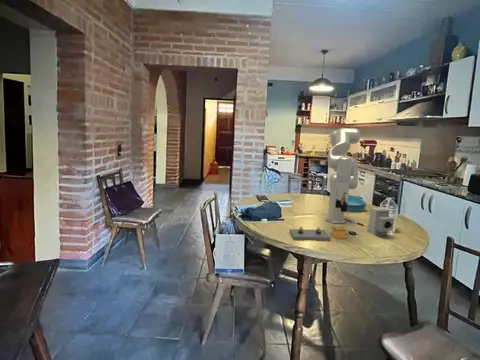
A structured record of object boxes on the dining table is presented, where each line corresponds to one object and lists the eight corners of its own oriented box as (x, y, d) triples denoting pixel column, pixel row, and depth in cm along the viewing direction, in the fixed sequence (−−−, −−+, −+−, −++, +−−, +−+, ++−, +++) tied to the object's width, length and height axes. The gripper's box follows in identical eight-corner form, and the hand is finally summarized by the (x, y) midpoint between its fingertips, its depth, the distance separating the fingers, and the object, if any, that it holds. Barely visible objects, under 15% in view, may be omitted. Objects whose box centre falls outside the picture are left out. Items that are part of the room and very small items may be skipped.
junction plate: (289, 232, 203) (290, 223, 202) (323, 233, 203) (324, 224, 202) (293, 240, 189) (294, 230, 188) (330, 241, 189) (331, 231, 189)
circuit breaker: (382, 239, 195) (385, 213, 193) (367, 231, 209) (369, 207, 207) (393, 238, 197) (396, 212, 195) (377, 231, 211) (380, 206, 209)
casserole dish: (369, 214, 253) (370, 204, 252) (338, 212, 254) (339, 203, 253) (356, 203, 289) (356, 194, 288) (328, 201, 290) (329, 193, 289)
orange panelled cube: (331, 234, 200) (332, 226, 200) (342, 235, 201) (342, 226, 200) (334, 238, 194) (335, 229, 194) (345, 238, 195) (346, 229, 194)
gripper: (331, 177, 201) (329, 206, 203) (341, 181, 183) (338, 213, 186) (344, 177, 201) (342, 206, 203) (355, 181, 184) (352, 213, 186)
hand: (340, 209), depth 195 cm, fingers open, 9 cm apart
